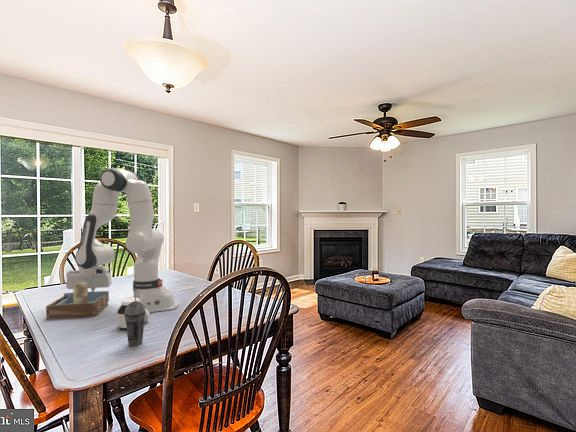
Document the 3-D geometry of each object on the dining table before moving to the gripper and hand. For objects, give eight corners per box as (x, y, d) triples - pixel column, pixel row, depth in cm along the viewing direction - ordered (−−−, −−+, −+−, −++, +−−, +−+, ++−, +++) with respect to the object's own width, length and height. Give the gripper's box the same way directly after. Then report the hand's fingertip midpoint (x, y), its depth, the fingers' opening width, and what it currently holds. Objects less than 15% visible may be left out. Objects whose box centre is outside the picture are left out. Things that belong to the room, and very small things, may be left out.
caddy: (63, 307, 159) (63, 295, 159) (107, 305, 164) (107, 293, 164) (46, 319, 143) (46, 306, 143) (95, 316, 147) (95, 303, 147)
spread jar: (115, 332, 129) (115, 303, 129) (121, 322, 140) (121, 295, 139) (147, 328, 132) (147, 301, 132) (151, 319, 143) (150, 293, 143)
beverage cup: (122, 349, 113) (121, 293, 113) (126, 341, 120) (126, 288, 120) (144, 347, 115) (144, 291, 115) (147, 338, 122) (147, 287, 122)
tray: (66, 302, 162) (66, 292, 162) (109, 300, 167) (109, 290, 167) (48, 314, 144) (47, 302, 144) (97, 311, 149) (96, 300, 149)
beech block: (85, 303, 158) (85, 281, 158) (87, 306, 155) (87, 283, 154) (73, 305, 155) (73, 283, 154) (75, 308, 151) (75, 285, 151)
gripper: (63, 271, 160) (64, 299, 160) (108, 270, 164) (108, 296, 164) (69, 269, 166) (69, 295, 166) (112, 267, 170) (112, 293, 171)
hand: (89, 296), depth 165 cm, fingers closed, pressing on tray
